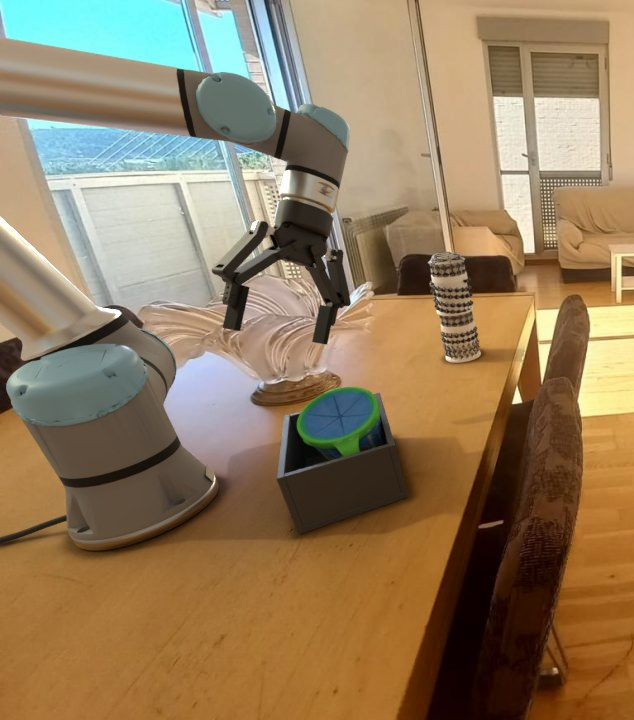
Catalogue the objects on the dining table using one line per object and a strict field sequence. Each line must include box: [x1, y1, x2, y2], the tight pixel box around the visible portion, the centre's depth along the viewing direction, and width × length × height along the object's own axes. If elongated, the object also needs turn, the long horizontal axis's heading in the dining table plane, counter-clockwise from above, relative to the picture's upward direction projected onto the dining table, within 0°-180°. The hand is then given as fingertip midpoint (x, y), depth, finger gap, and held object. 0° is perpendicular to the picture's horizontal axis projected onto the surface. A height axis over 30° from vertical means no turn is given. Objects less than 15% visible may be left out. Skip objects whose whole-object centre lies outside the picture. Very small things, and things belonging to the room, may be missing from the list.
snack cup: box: [297, 386, 385, 461], centre depth 71 cm, size 16×10×10 cm
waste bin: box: [276, 392, 409, 535], centre depth 71 cm, size 14×19×9 cm
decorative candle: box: [427, 251, 482, 364], centre depth 111 cm, size 9×9×25 cm
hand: (279, 337), depth 74 cm, fingers open, 13 cm apart
